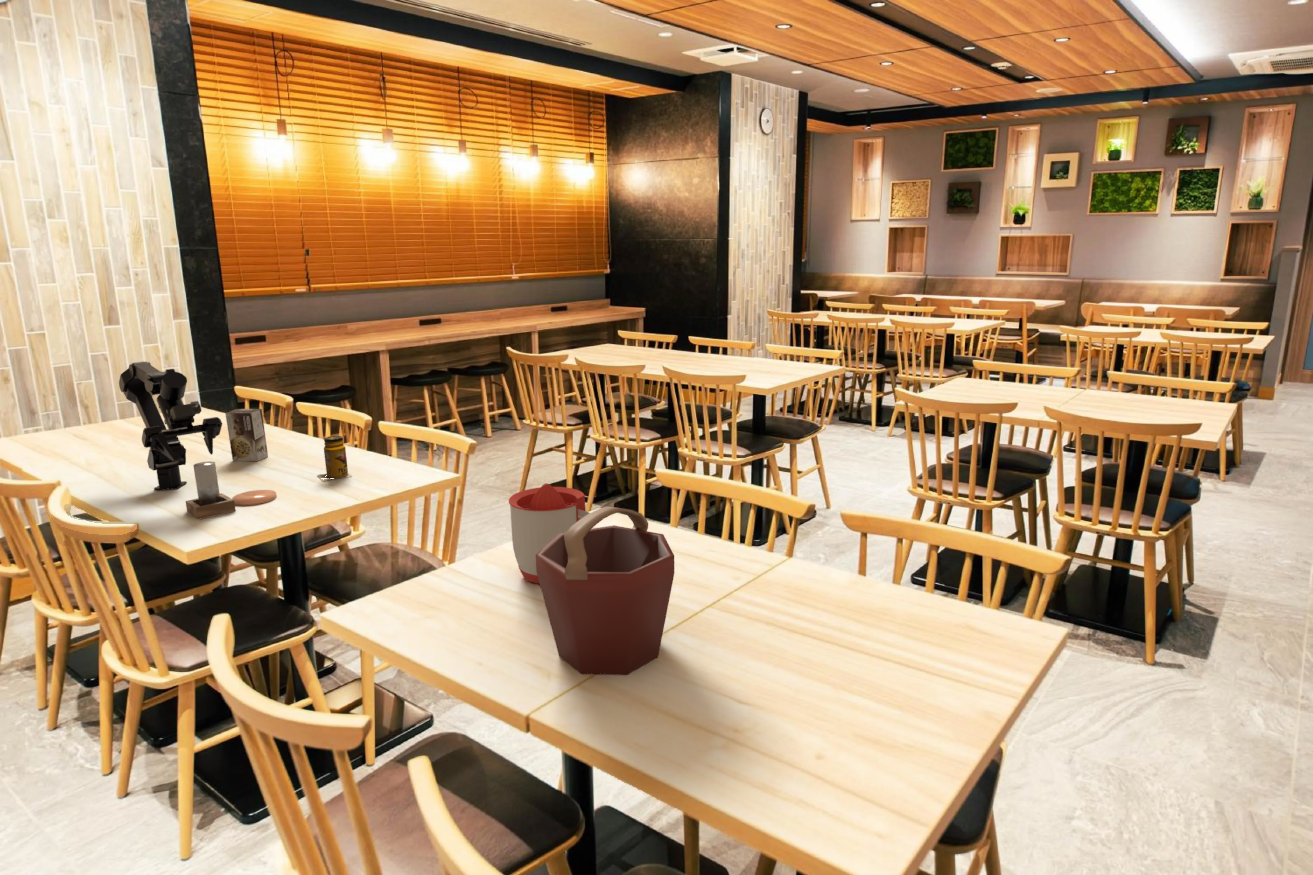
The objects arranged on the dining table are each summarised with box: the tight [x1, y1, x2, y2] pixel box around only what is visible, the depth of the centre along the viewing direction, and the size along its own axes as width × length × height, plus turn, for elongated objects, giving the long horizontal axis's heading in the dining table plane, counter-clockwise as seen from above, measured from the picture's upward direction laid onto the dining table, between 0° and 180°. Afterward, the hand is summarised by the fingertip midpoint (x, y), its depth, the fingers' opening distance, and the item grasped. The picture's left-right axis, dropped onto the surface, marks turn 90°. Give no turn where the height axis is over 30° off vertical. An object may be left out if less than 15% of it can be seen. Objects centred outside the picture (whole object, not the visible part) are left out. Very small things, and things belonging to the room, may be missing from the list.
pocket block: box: [185, 493, 237, 520], centre depth 218 cm, size 9×9×3 cm
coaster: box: [231, 489, 277, 507], centre depth 228 cm, size 11×11×1 cm
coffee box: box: [225, 408, 269, 462], centre depth 269 cm, size 9×6×16 cm
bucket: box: [536, 505, 675, 676], centre depth 139 cm, size 24×22×25 cm
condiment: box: [317, 435, 352, 482], centre depth 248 cm, size 7×8×12 cm
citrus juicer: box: [508, 482, 590, 585], centre depth 171 cm, size 16×17×20 cm
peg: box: [193, 460, 221, 506], centre depth 217 cm, size 5×5×13 cm
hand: (193, 456), depth 220 cm, fingers open, 9 cm apart
